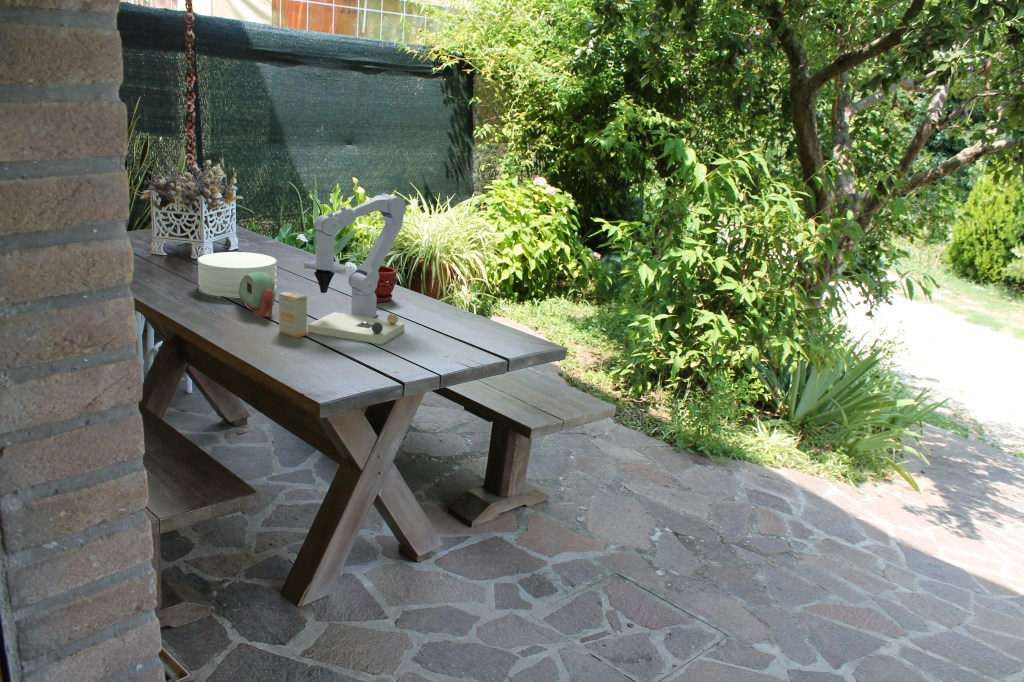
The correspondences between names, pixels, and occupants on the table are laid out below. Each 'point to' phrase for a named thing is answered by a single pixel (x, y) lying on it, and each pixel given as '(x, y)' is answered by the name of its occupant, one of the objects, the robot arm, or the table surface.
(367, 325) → the steel ball
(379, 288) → the plant pot
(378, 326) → the black rubber ball
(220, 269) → the plate stack
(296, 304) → the supplement box
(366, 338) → the hole plate
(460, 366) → the table surface
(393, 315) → the brass ball
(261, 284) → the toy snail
